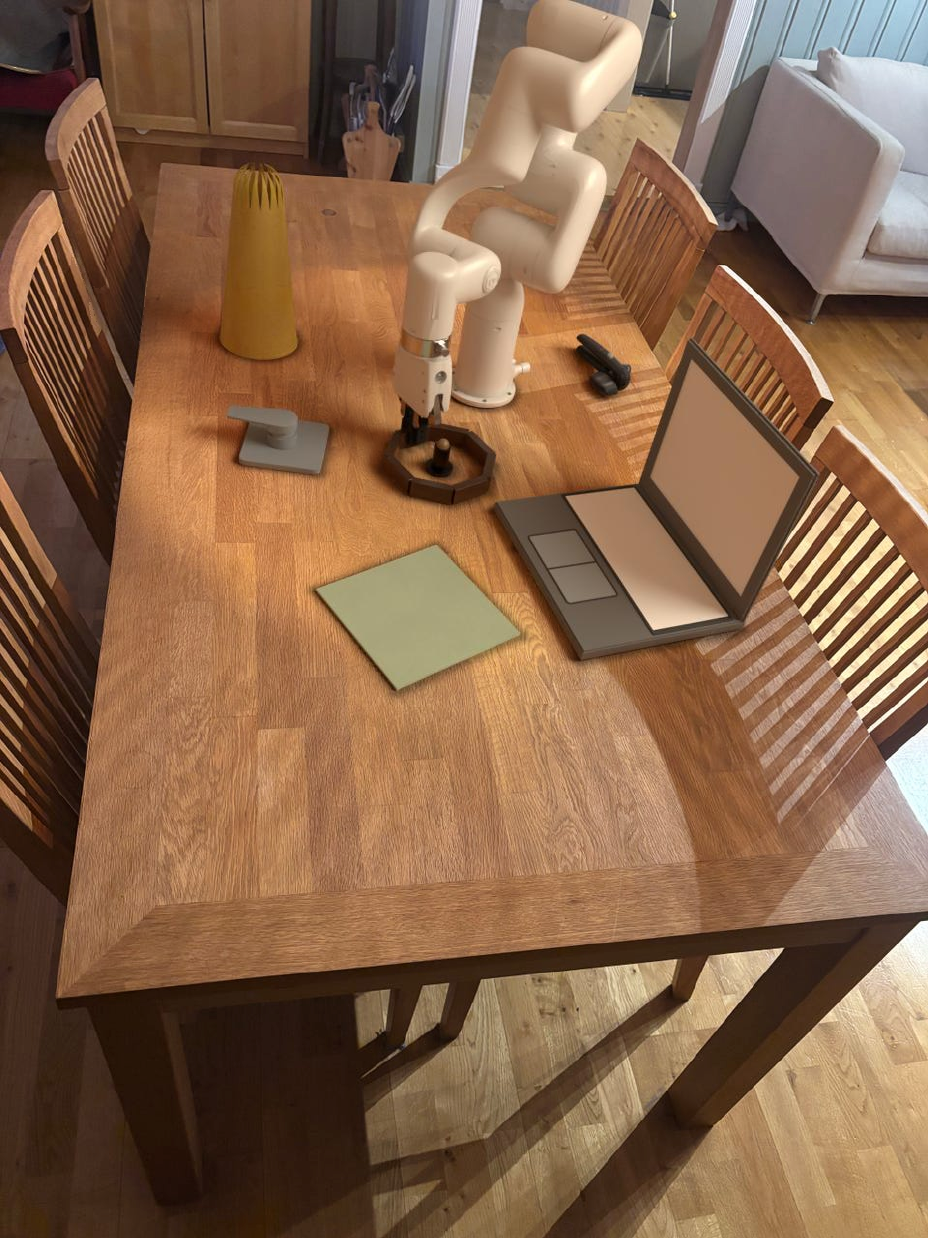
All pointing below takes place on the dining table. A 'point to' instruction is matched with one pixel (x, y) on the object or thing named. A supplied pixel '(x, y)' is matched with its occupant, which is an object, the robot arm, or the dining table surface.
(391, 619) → the sage mat
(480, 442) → the hanging ring
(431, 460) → the post
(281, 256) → the piping tip
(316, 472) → the shower valve
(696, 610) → the laptop
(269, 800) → the dining table surface
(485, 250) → the robot arm
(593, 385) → the can opener
